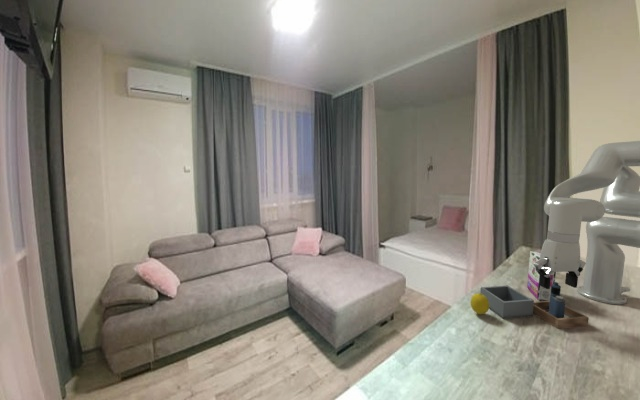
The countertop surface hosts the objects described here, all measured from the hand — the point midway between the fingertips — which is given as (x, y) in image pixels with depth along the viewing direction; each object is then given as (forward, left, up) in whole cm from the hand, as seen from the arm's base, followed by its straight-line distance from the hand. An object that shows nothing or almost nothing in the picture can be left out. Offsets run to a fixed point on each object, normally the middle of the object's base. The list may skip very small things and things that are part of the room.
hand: (557, 286), depth 82 cm
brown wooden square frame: (-1, 0, -12) cm, 12 cm away
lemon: (+23, -5, -12) cm, 27 cm away
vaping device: (-1, 0, -12) cm, 12 cm away
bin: (+12, -7, -12) cm, 18 cm away
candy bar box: (-9, -15, -12) cm, 21 cm away
